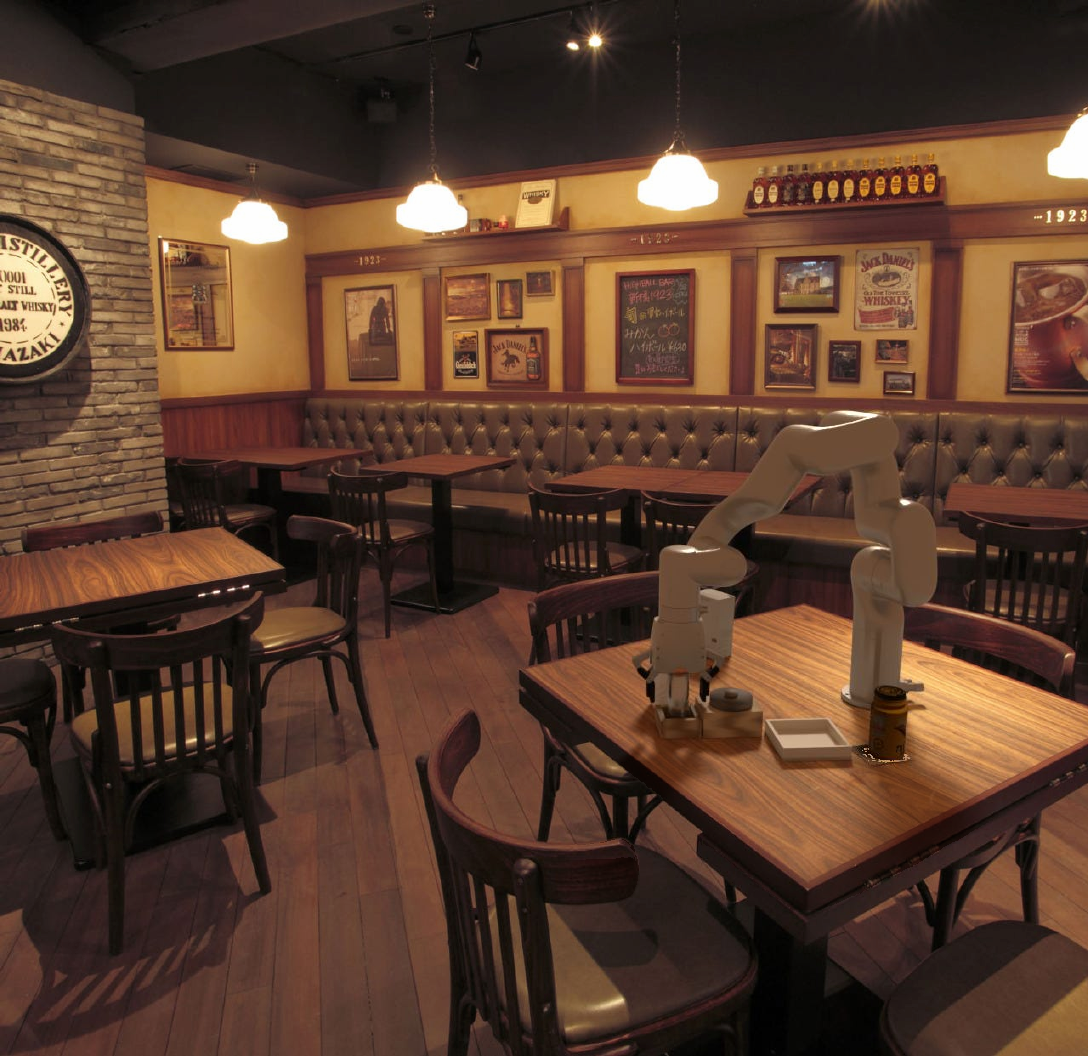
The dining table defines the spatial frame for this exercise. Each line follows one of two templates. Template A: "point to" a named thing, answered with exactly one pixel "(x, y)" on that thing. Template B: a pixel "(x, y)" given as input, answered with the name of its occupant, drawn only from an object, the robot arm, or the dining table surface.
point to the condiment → (886, 726)
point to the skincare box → (718, 620)
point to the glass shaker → (678, 694)
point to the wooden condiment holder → (714, 717)
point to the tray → (807, 739)
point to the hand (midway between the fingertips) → (677, 700)
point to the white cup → (660, 688)
